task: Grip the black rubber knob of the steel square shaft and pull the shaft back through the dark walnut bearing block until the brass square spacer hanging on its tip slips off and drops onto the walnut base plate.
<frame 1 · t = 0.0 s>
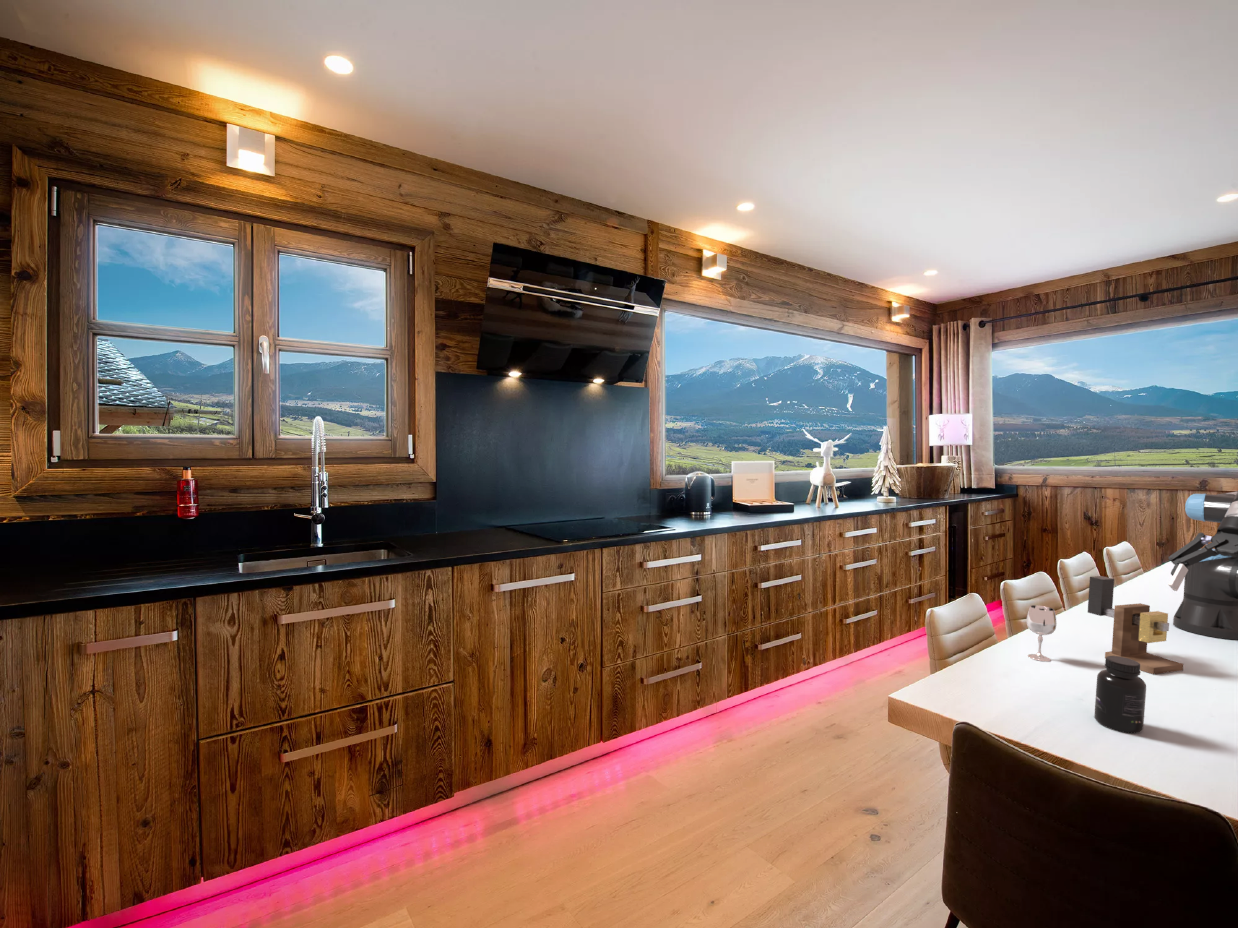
hand: (1205, 595, 144), 15 cm above the table, tool tilted 35°, fingers open, 13 cm apart
spacer: (1152, 640, 137), point 6 cm above the table, touching shaft
wineglass: (1039, 658, 141), on the table
supplement bottle: (1118, 726, 108), on the table
bearing frame: (1138, 662, 140), on the table
shaft: (1129, 602, 142), point 13 cm above the table, slide at 0.0 cm, touching spacer
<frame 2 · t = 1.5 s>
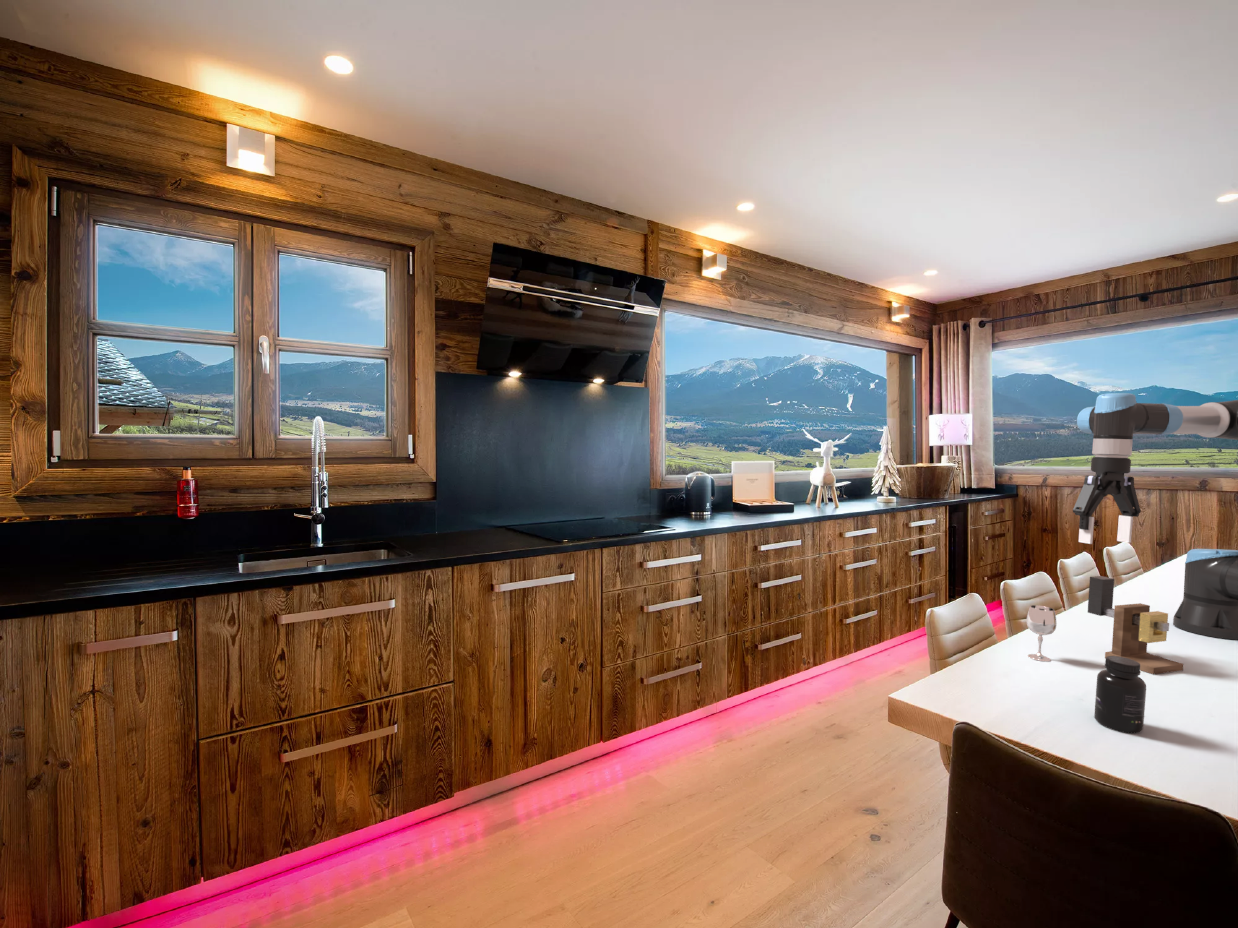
hand: (1104, 542, 147), 27 cm above the table, tool pointing down, fingers open, 13 cm apart
nothing on the table moved.
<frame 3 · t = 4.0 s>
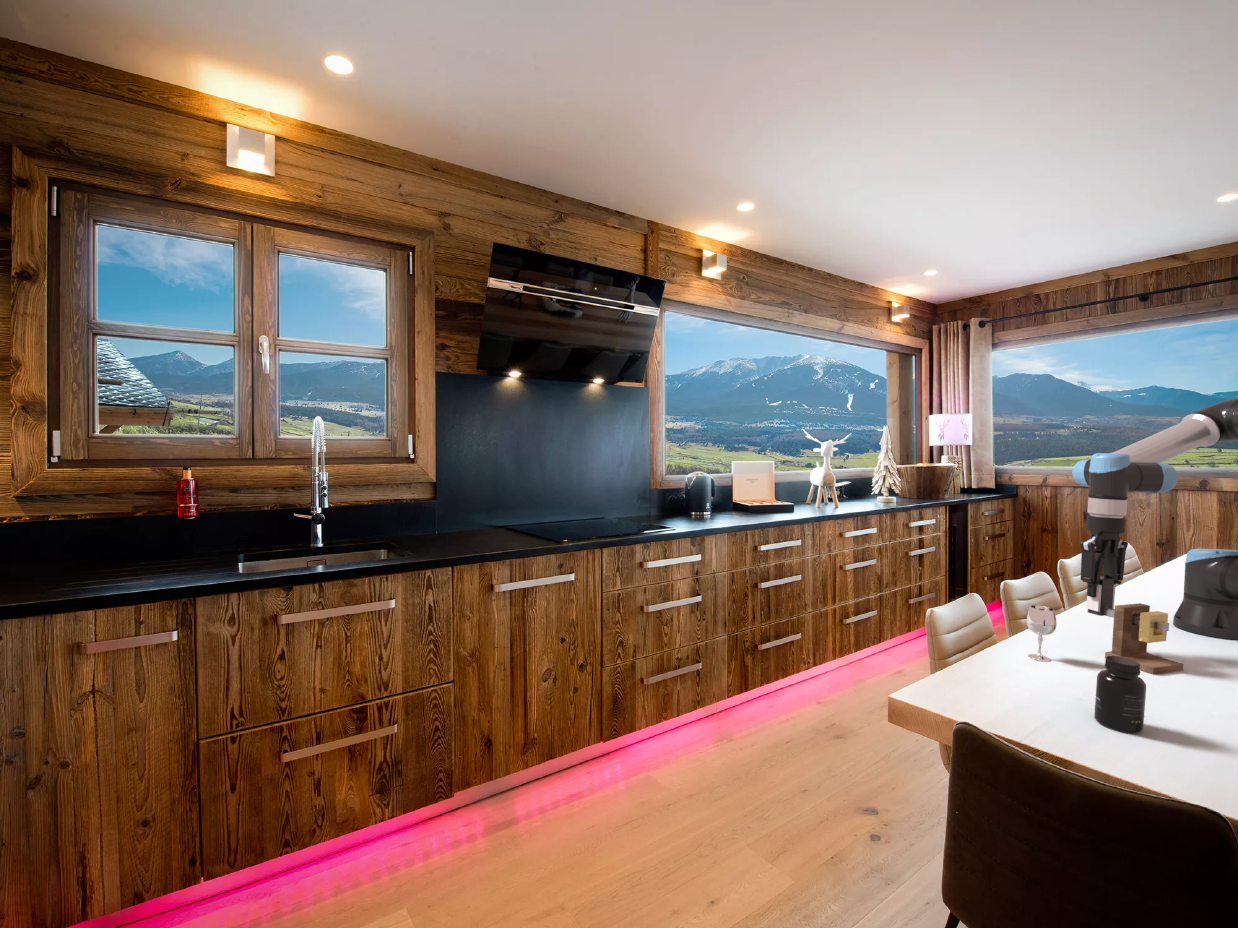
hand: (1099, 608, 148), 10 cm above the table, tool pointing down, fingers closed on shaft, 4 cm apart
shaft: (1129, 602, 142), point 13 cm above the table, slide at 0.0 cm, touching gripper, spacer
everything else where it was.
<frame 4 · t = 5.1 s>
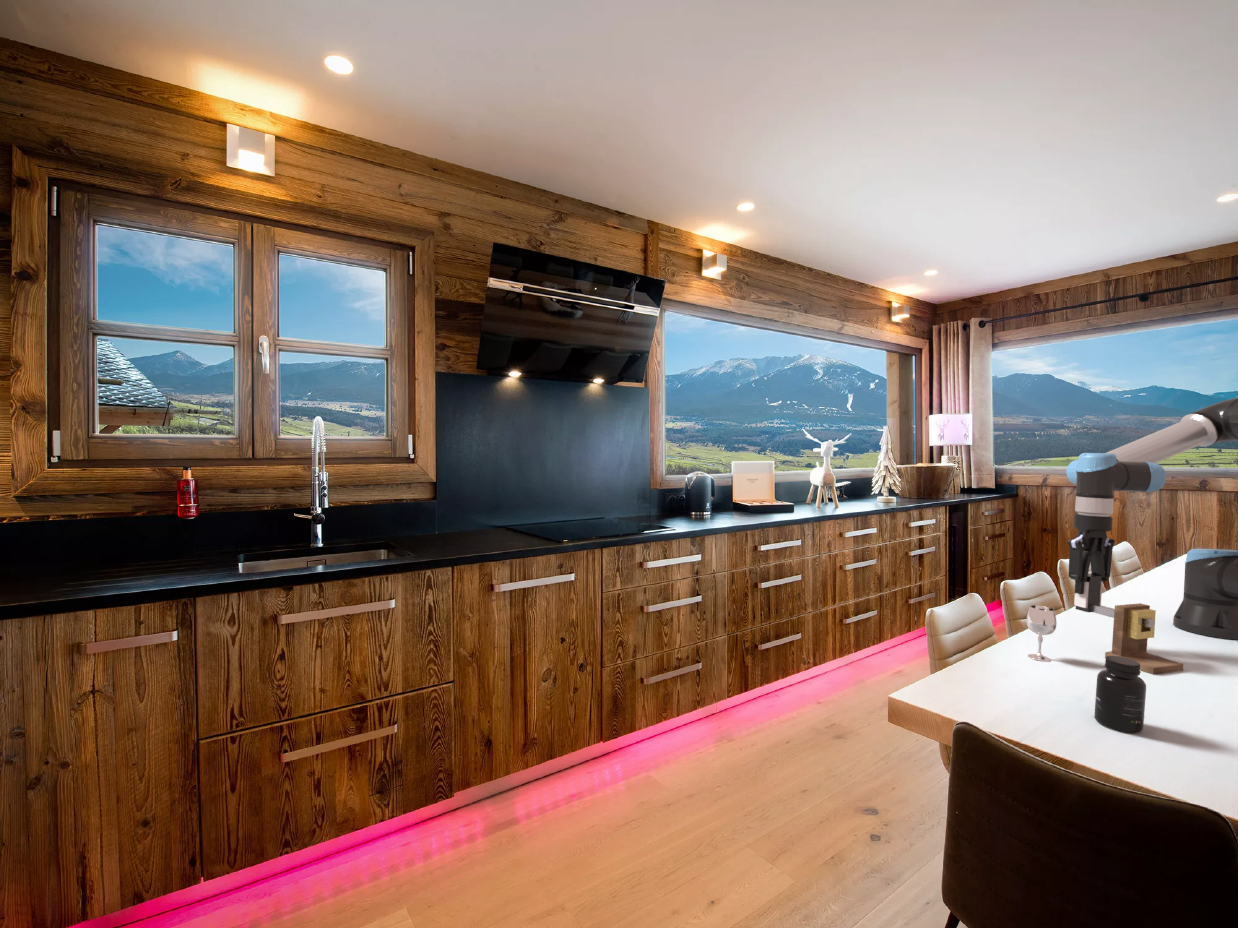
hand: (1087, 605, 151), 10 cm above the table, tool pointing down, fingers closed on shaft, 4 cm apart
spacer: (1140, 637, 139), point 6 cm above the table, touching shaft
shaft: (1115, 599, 145), point 13 cm above the table, slide at 2.9 cm, touching gripper, spacer
everything else where it was.
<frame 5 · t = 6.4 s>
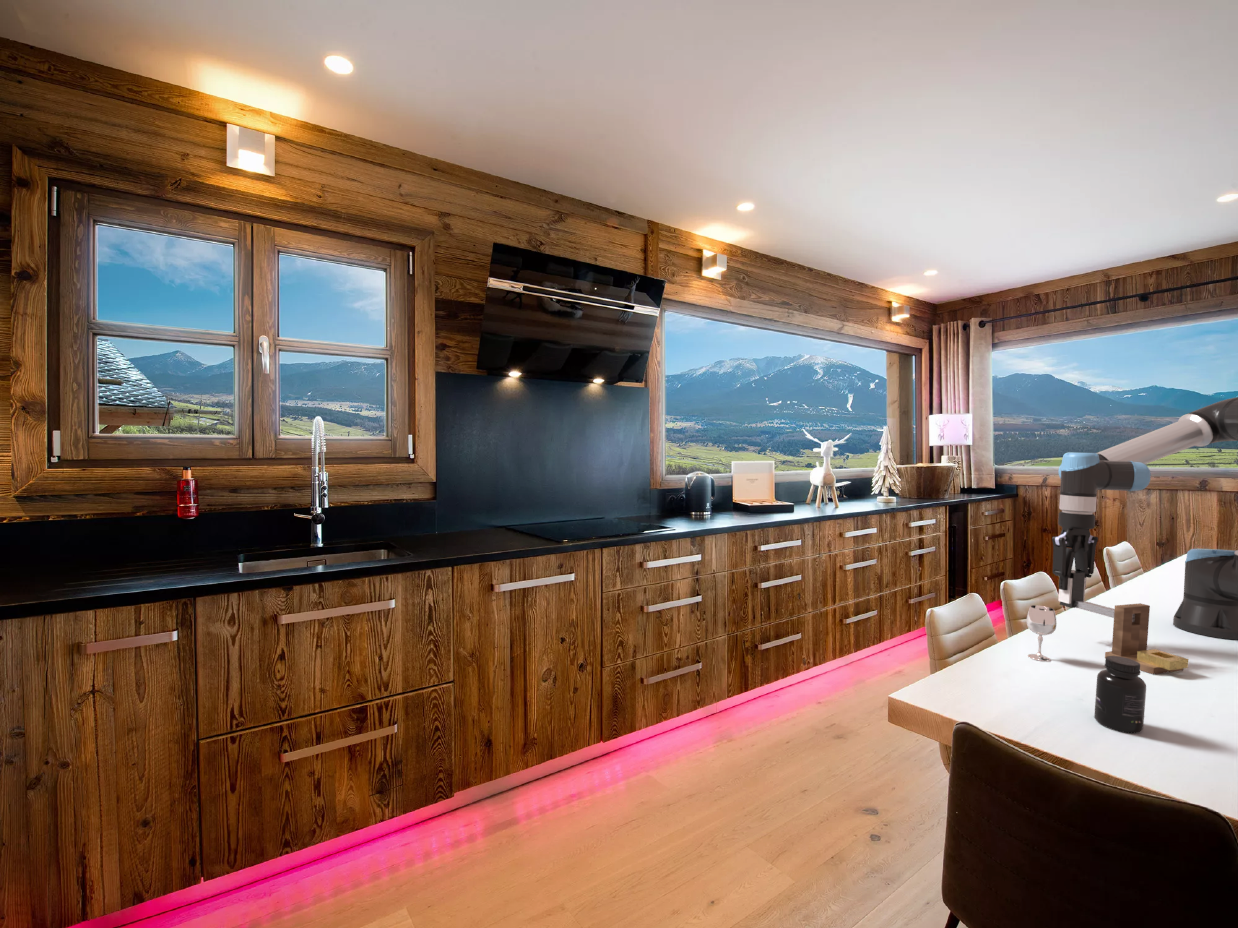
hand: (1071, 601, 154), 10 cm above the table, tool pointing down, fingers closed on shaft, 4 cm apart
spacer: (1146, 654, 138), point 2 cm above the table, tilted 90°, touching bearing frame
shaft: (1098, 595, 148), point 13 cm above the table, slide at 6.9 cm, touching gripper
everything else where it was.
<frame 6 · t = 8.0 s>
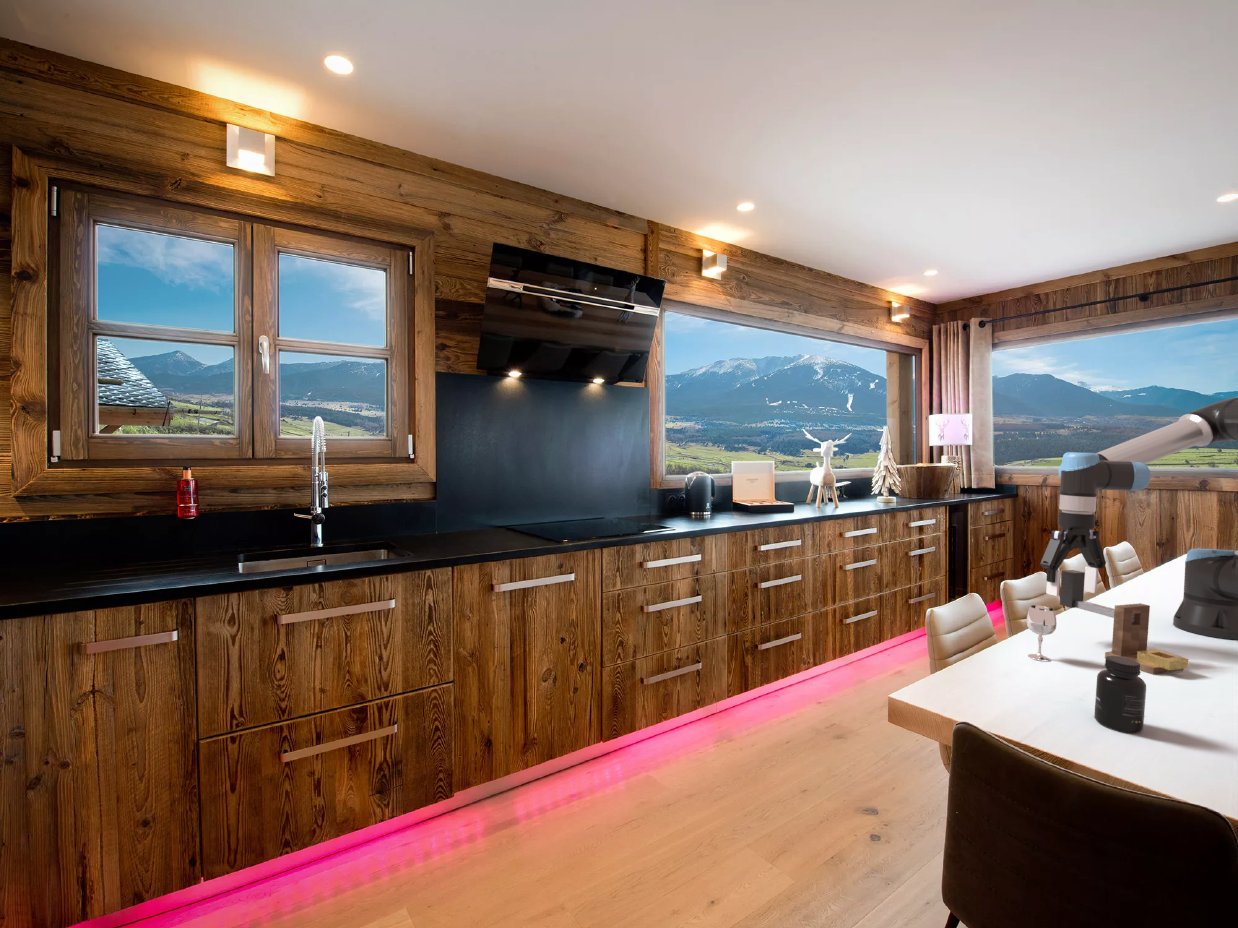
hand: (1071, 593, 154), 12 cm above the table, tool pointing down, fingers open, 13 cm apart
shaft: (1098, 594, 148), point 13 cm above the table, slide at 6.9 cm
everything else where it was.
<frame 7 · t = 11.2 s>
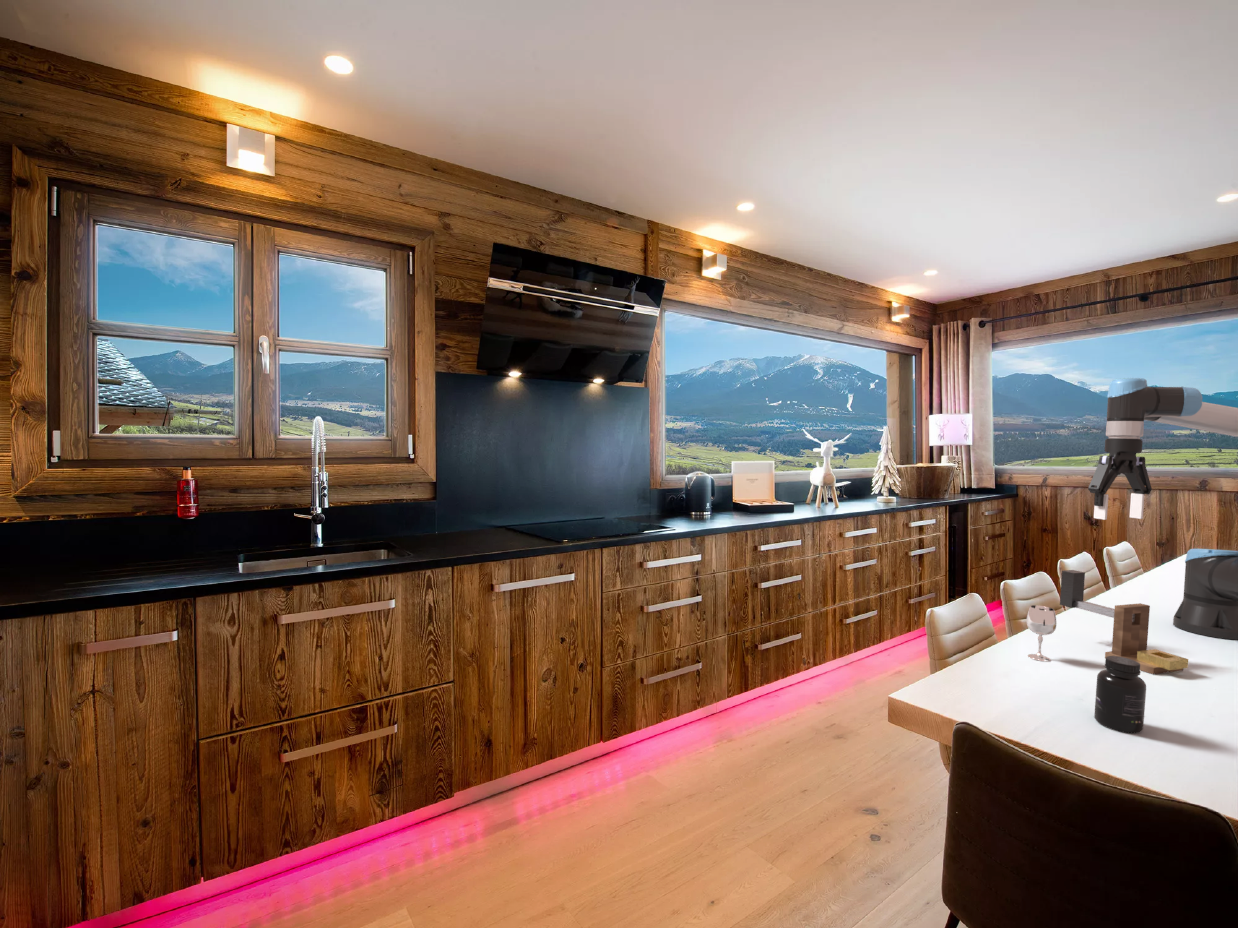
hand: (1118, 518, 157), 32 cm above the table, tool pointing down, fingers open, 13 cm apart
nothing on the table moved.
at the end: spacer point 2.5 cm above the table; shaft slide at 6.9 cm; spacer touching bearing frame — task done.
